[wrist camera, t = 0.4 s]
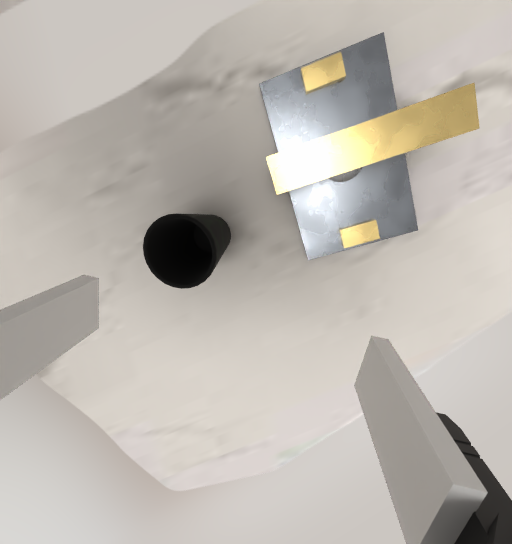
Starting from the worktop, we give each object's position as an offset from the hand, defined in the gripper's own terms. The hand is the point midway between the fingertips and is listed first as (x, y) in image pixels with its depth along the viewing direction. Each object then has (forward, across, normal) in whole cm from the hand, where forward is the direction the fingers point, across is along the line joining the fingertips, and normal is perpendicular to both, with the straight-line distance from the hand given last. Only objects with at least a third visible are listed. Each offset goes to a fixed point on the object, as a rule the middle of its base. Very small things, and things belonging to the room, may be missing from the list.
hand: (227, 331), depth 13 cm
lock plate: (+26, +7, +11) cm, 30 cm away
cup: (+27, -8, -1) cm, 28 cm away
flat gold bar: (+20, +7, +11) cm, 24 cm away
